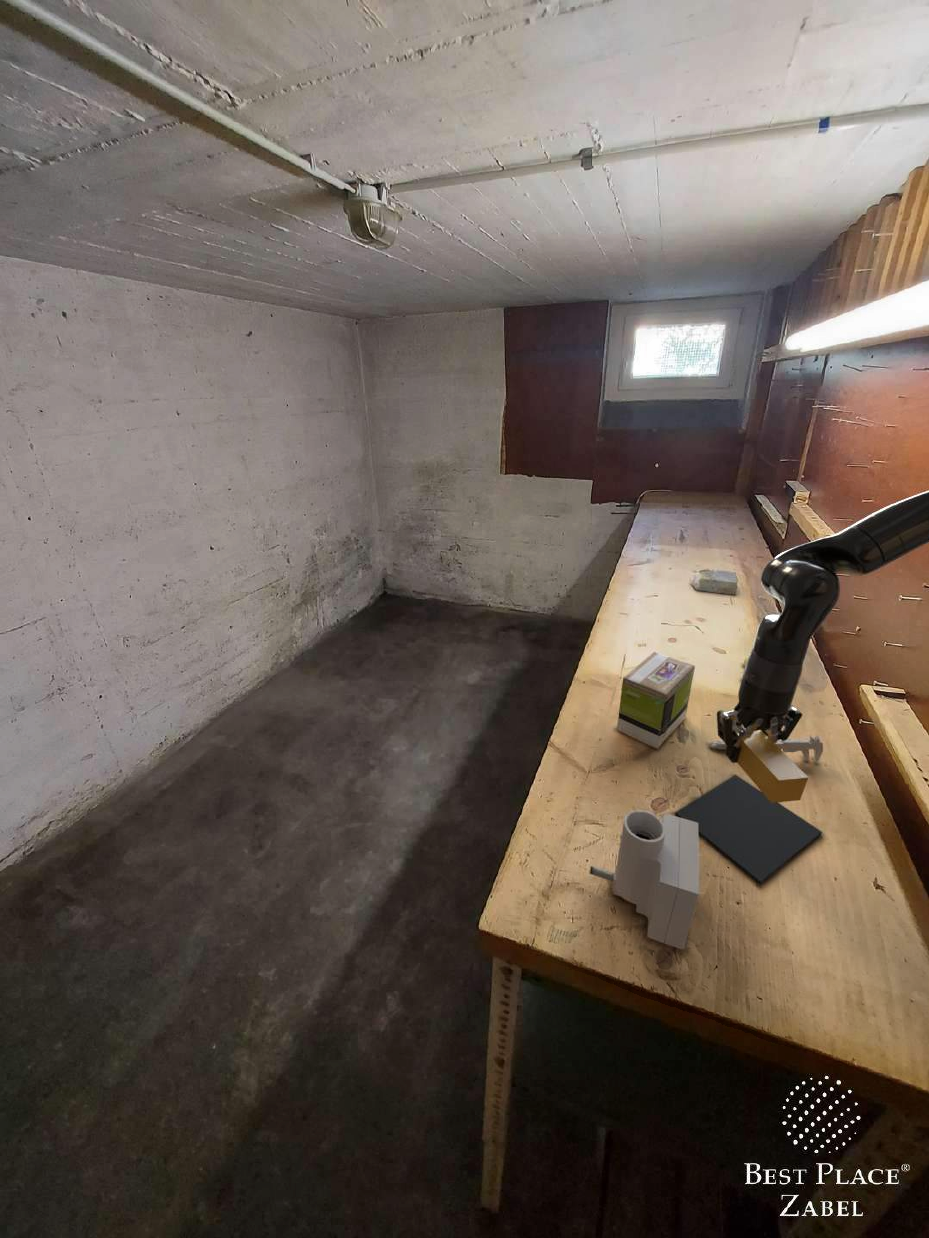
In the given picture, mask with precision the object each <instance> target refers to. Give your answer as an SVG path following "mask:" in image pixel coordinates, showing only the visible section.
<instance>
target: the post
mask: <svg viewBox="0 0 929 1238" xmlns="http://www.w3.org/2000/svg"><path fill="white" fill-rule="evenodd" d="M744 729H745V728H744ZM745 730H746V729H745ZM738 736H739V733H738V734H737V735H736V737H738ZM741 747H742V748H741V751H740V755H739V758H738V762H737V763H736V764H737V765H738V766H739V767H740V769H742V770H743V772H744V773H745V774H746V775H747V776H748V778H749V779H750V780H751V781H752V783H754V785H755V786H756V787H757V789H758V790H759V791H761V792H762V793H763V794H764V795H765V796H766V797H767V799H768V800H769V801H770V802H771V803H777V802H778V803H787V802H797V801H801V799H802V796H803V794H804V791H805V789H806V785H807V783H808V780H809V777H808V775H807V774H806V773H805V772H803V770H802V769H801V768H800V767H799V766H798V765H797V764H796V763H795V762H793V760H792V759H790V757H788V755H787V754H786V753H785V752H783V750H782V749H779V748H778V747H777V746H776V745H775V744H774V743H773V742H772V741H771V740H770V739H769V738H768V737H767V736H766V735H765V734H764V733H763V732H762V731H761V730H757V731H754V733H753V734H752V736H751V737H750V738H746V740H745V741H744V742H743V744H742V745H741Z"/></svg>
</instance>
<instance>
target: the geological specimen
mask: <svg viewBox="0 0 929 1238" xmlns="http://www.w3.org/2000/svg"><path fill="white" fill-rule="evenodd" d="M738 583H739V579H738V575H737V572H736V571H728V570H718V569H717V570H716V569H709V568H702V569H699V570H697V571H696V572H695V574H694V575H693V579H692V580H691V586H692V587H693V588H695V590H696V591H700V592H706V593H714V594H717V593H718V594H724V595H731V596H732V595H733V596H734V595H735V594H736V592H737V590H738Z"/></svg>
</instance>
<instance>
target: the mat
mask: <svg viewBox="0 0 929 1238" xmlns="http://www.w3.org/2000/svg"><path fill="white" fill-rule="evenodd" d="M674 816H676V817H680V818H683V819H687V820H690V821H693V822H697V823H698V836H700V837H701V838H702V839H704V840H705V841H706V842H707V843H708V844H710V845H711V846H712V847H714V848H715V849H716V850H717V851H718V852H720V853H721V854H722V855H723V856H724V857H726V858H727V859H728V860H730V861H731V862H732V863H733V864H734V865H735V866H737V867H738V868H739V869H740V870H741V871H743V872H744V873H745V874H747V875H748V876H749V877H750V878H752V880H754V881H755V882H756V883H758V884H759V885H761V884H762V883H764V882H765V881H766V880H767V879H768V878H770V877H771V876H772V875H773V874H775V873H776V872H777V871H778V870H780V869H781V868H782V867H783V866H784V865H785V864H787V863H788V862H789V861H791V860H792V859H793V858H794V857H795V856H796V855H798V854H799V853H800V852H801V851H802V850H804V849H805V848H807V847H808V846H809V845H810V844H811V843H813V842H814V841H815V840H816V839H818V838H819V837H820V836H821V835H822V834H823V831H822V830H820V829H818V828H817V827H816V826H814V825H813V824H811V823H809V822H808V821H806V820H805V819H804V818H802V817H801V816H799V815H797V814H796V813H794V812H792V810H790V809H788V808H787V807H785V806H784V805H782V804H781V803H780V802H777V803H771V802H770V801H769V800H768V799H767V797H766V796H765V795H764V794H763V793H762V791H761V790H760V789H759V788H756V787H755V786H753V785H752V784H751V783H749V782H747V781H746V780H744V779H743V778H741V777H740V776H738V775H737V774H734V775H732V776H731V777H730V778H728V779H727V780H725V781H723V782H721V783H720V784H718V785H717V786H715V787H713V788H712V789H710V790H709V791H707V792H706V793H704V794H703V795H700V796H699V797H697V798H696V799H695V800H693V801H691V802H689V803H688V804H686V805H684V806H683V807H682V808H680V809H679V810H677V811H675V812H674Z"/></svg>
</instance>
